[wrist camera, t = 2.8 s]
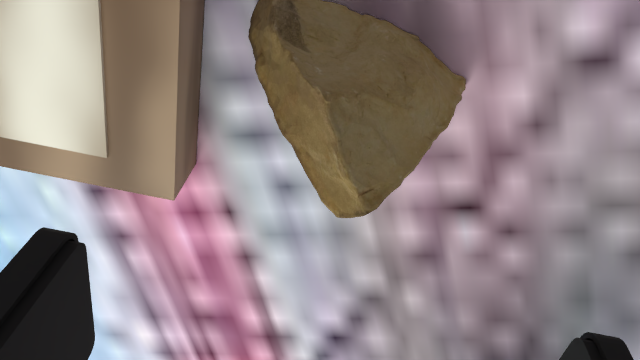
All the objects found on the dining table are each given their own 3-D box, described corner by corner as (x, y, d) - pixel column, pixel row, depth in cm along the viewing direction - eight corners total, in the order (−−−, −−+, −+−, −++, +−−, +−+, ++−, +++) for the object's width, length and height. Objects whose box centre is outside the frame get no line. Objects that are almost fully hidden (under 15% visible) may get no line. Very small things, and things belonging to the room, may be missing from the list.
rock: (181, 27, 25) (281, 199, 28) (224, -15, 17) (356, 232, 20) (356, -65, 28) (429, 99, 31) (461, -135, 20) (544, 94, 23)
